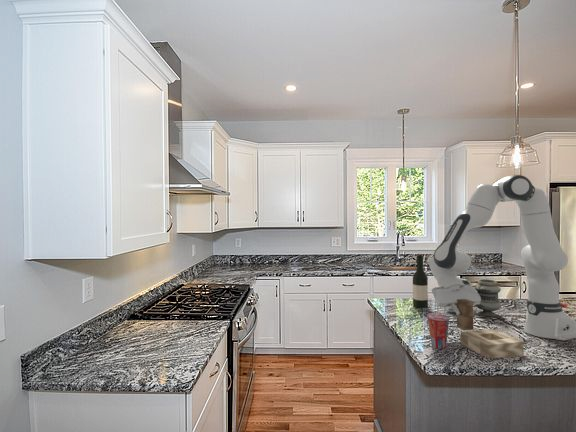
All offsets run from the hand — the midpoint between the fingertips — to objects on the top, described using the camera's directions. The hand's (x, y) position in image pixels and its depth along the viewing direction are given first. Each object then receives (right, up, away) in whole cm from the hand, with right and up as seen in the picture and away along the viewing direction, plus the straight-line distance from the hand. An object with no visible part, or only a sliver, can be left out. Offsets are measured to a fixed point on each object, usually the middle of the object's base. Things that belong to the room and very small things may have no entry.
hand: (465, 313), depth 151 cm
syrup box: (+14, -10, +42) cm, 46 cm away
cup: (-16, -10, -10) cm, 22 cm away
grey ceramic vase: (+28, -10, +33) cm, 44 cm away
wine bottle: (0, -10, +53) cm, 54 cm away
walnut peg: (0, -6, +1) cm, 6 cm away
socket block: (+3, -10, -14) cm, 17 cm away
